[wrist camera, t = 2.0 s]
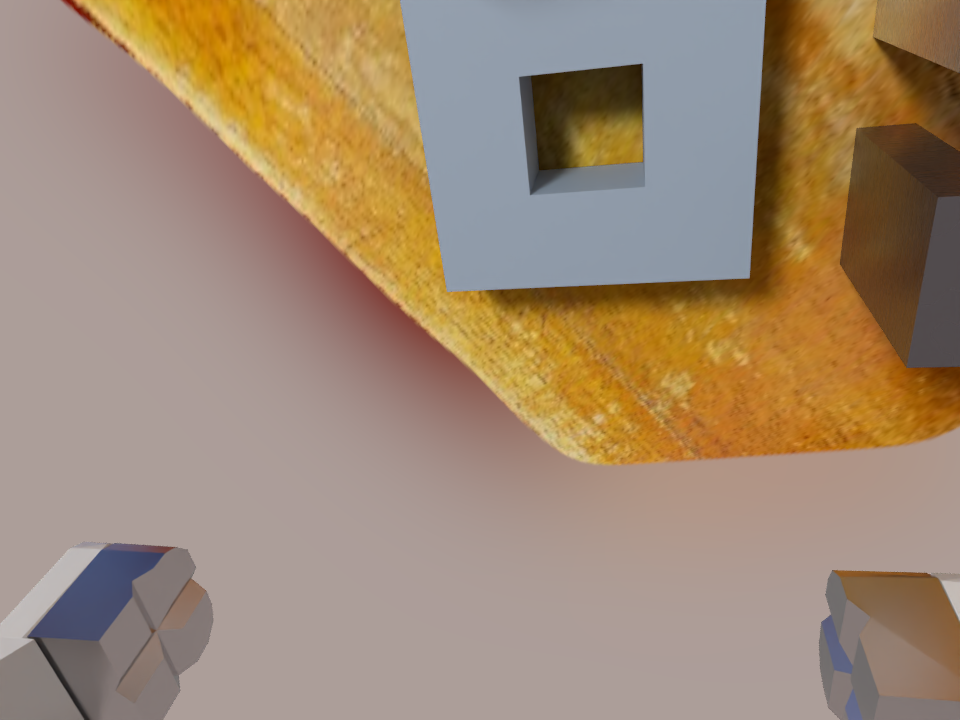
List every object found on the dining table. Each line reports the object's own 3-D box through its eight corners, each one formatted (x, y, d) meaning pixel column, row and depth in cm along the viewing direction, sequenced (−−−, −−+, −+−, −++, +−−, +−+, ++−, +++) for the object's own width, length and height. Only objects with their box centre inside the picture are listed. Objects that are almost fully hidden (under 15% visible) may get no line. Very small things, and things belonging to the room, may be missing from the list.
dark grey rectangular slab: (915, 123, 32) (1020, 192, 23) (893, 261, 35) (978, 366, 26) (856, 128, 32) (938, 197, 24) (840, 263, 35) (906, 367, 27)
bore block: (754, -84, 29) (771, -86, 26) (737, 245, 36) (749, 278, 32) (419, -36, 32) (394, -32, 29) (462, 260, 39) (447, 291, 35)
